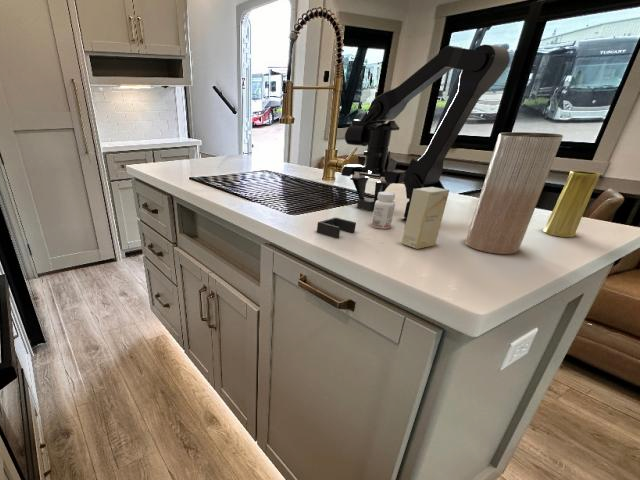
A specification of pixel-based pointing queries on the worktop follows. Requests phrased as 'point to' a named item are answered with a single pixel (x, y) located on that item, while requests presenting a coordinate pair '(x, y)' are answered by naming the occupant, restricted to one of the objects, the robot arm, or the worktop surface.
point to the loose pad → (366, 204)
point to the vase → (571, 204)
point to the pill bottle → (383, 210)
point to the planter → (511, 190)
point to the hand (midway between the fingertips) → (368, 203)
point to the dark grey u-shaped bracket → (335, 226)
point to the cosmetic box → (424, 217)
